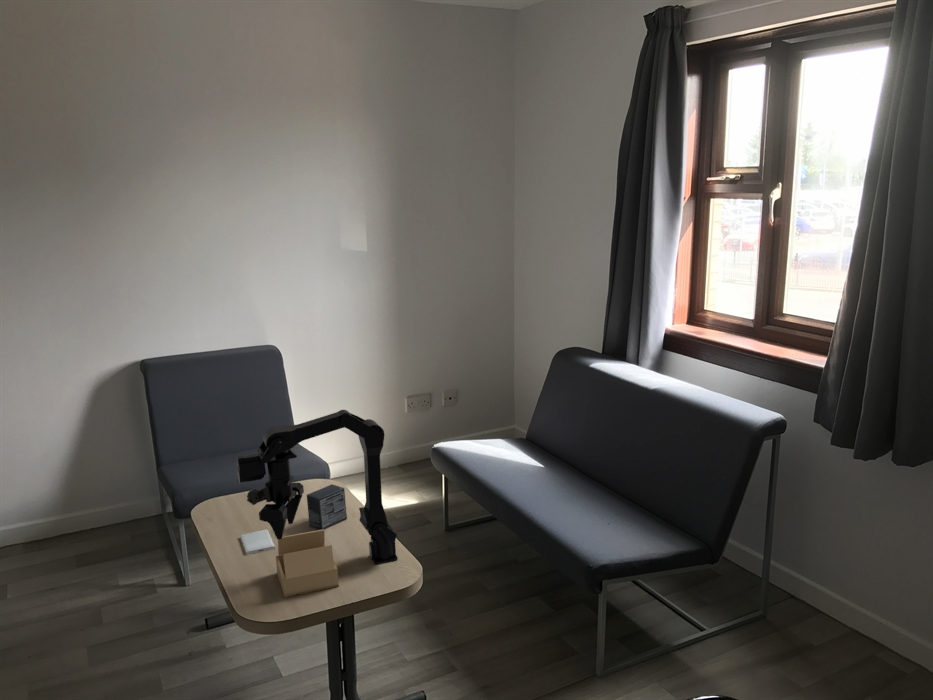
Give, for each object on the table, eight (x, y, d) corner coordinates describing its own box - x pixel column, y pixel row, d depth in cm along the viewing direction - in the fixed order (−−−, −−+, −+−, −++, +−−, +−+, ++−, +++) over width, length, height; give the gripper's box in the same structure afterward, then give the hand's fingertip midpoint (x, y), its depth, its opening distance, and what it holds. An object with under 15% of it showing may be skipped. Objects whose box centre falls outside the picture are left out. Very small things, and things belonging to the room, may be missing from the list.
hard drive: (240, 534, 234) (246, 551, 223) (267, 529, 237) (275, 545, 226) (240, 539, 234) (246, 556, 223) (268, 534, 237) (275, 550, 226)
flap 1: (324, 546, 215) (324, 545, 216) (324, 530, 212) (324, 529, 212) (278, 555, 211) (278, 554, 211) (277, 538, 208) (277, 537, 208)
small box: (334, 514, 249) (331, 483, 247) (347, 519, 245) (345, 487, 243) (308, 525, 241) (305, 493, 239) (321, 531, 237) (319, 498, 235)
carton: (328, 563, 217) (327, 546, 216) (338, 586, 204) (337, 568, 203) (277, 573, 212) (275, 556, 211) (284, 597, 199) (282, 579, 198)
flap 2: (285, 578, 198) (286, 579, 198) (282, 554, 199) (283, 554, 199) (334, 569, 202) (334, 569, 202) (331, 545, 203) (331, 545, 203)
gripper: (261, 463, 213) (267, 516, 216) (235, 489, 195) (242, 547, 198) (301, 462, 212) (306, 516, 215) (279, 489, 194) (285, 547, 197)
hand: (285, 531), depth 206 cm, fingers open, 9 cm apart
